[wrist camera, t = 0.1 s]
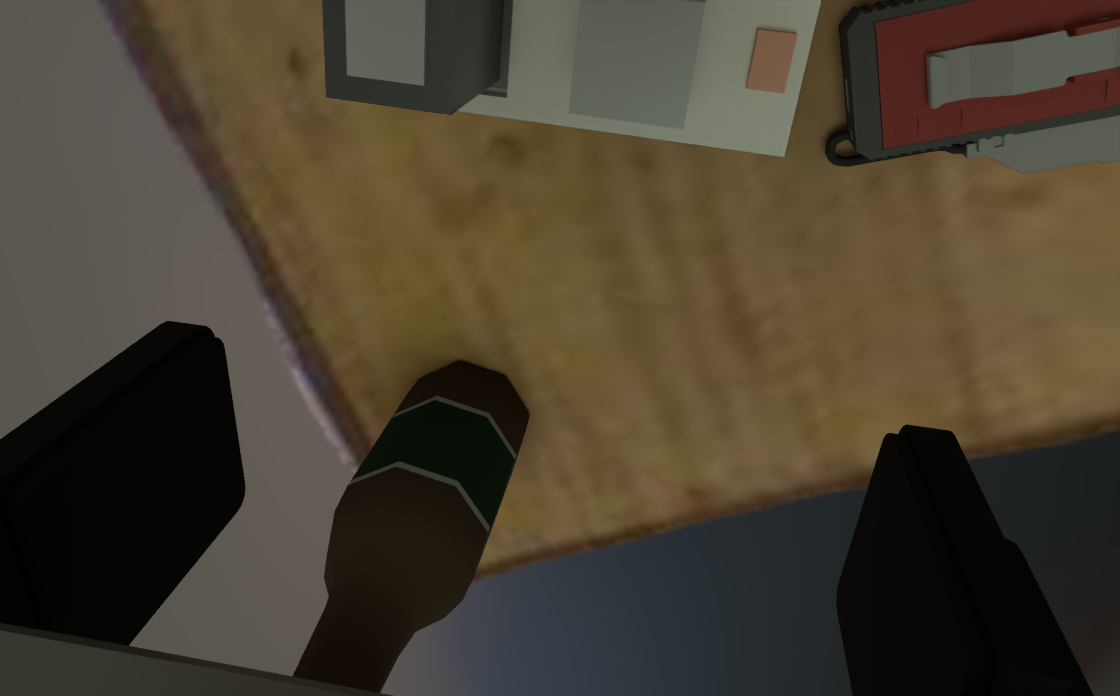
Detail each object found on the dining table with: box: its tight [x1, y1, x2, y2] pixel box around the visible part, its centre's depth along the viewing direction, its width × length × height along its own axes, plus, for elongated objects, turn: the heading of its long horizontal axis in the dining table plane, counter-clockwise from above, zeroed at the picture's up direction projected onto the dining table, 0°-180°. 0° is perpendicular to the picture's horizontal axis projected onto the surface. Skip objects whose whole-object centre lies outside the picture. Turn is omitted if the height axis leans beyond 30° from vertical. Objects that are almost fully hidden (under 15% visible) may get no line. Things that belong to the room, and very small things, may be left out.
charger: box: [322, 0, 504, 115], centre depth 33 cm, size 5×5×8 cm
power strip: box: [457, 0, 821, 157], centre depth 34 cm, size 8×20×8 cm, turn 85°
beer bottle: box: [293, 362, 529, 693], centre depth 39 cm, size 8×8×24 cm
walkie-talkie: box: [825, 0, 1120, 174], centre depth 34 cm, size 9×4×20 cm
